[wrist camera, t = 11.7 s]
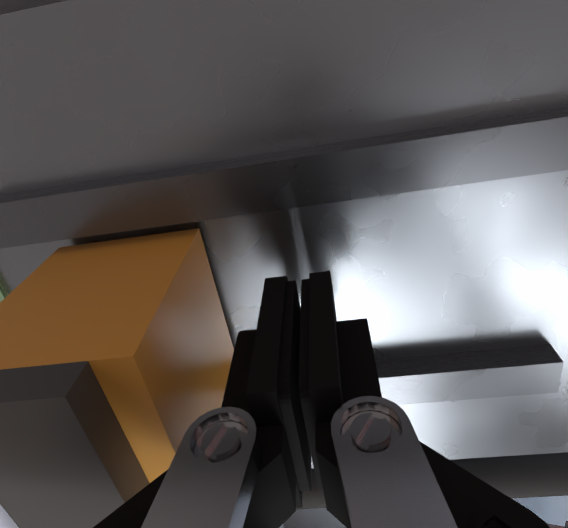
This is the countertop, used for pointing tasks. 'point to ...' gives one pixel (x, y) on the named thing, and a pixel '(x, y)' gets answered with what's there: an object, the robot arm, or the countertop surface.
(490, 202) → the breaker panel
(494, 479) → the cord
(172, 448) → the orange box grey panel
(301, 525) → the countertop surface
